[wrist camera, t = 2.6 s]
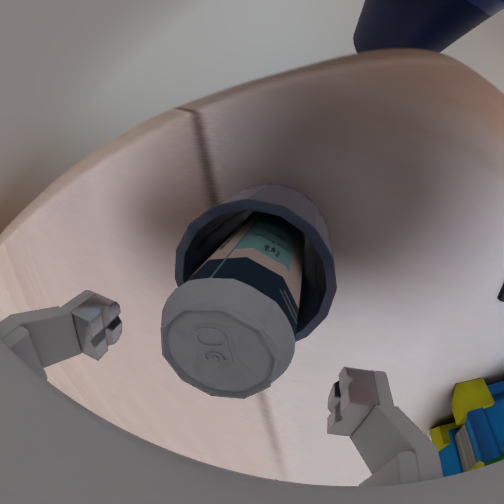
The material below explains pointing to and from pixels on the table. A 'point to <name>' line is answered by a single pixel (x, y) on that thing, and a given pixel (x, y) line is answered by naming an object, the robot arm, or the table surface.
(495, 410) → the decorative book
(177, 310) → the supplement bottle
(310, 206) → the cup
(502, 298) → the mat
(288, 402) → the table surface
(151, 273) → the table surface
